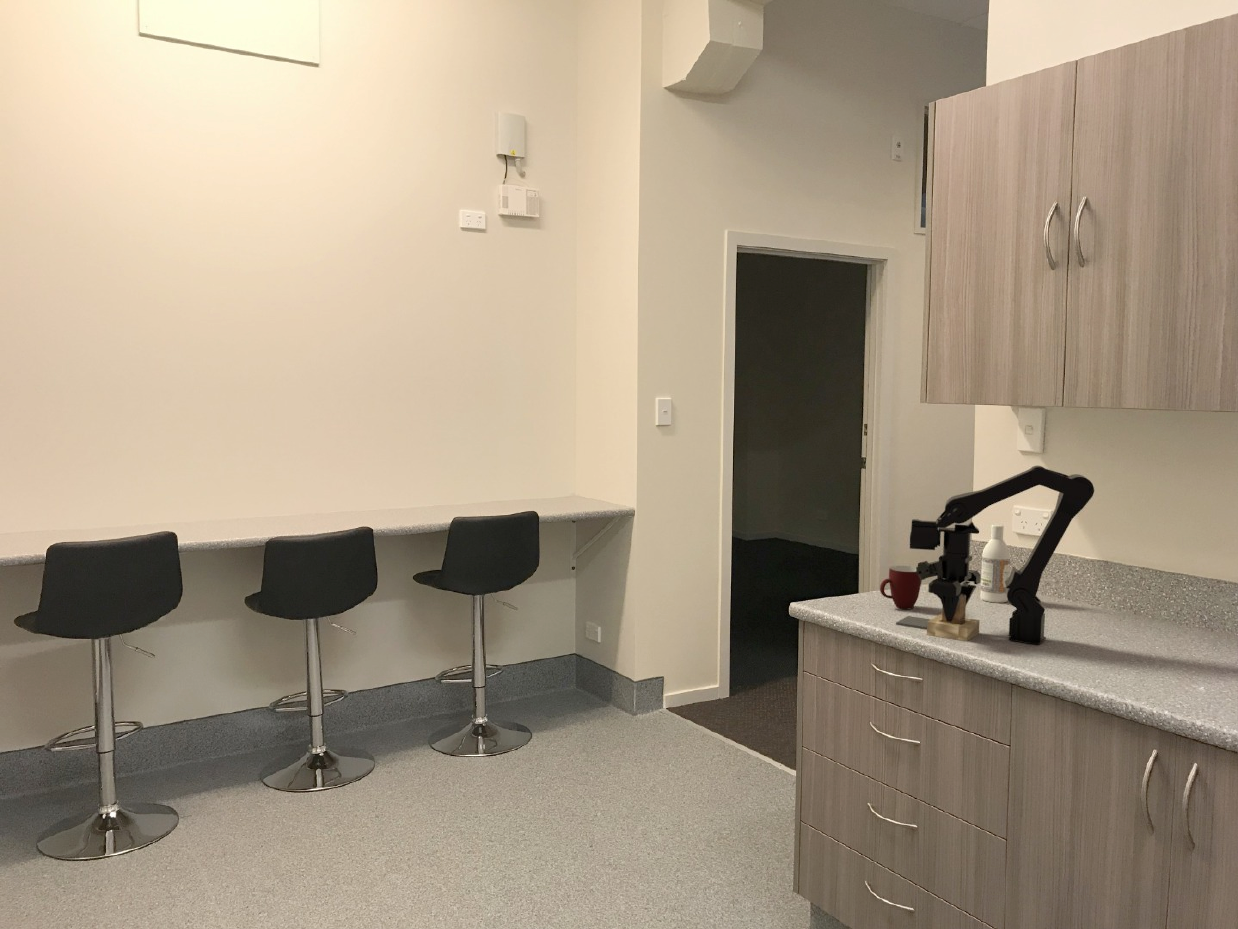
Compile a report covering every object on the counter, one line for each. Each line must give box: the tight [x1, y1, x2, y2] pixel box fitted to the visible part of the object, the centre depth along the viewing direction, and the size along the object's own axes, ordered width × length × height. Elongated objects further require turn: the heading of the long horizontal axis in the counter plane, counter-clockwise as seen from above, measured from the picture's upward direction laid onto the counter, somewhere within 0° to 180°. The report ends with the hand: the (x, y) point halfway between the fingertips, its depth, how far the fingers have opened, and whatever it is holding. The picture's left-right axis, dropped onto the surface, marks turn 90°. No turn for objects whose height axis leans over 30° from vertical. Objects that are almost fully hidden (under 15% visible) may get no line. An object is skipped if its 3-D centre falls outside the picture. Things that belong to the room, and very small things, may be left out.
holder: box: [926, 613, 980, 642], centre depth 225 cm, size 9×9×3 cm
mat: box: [895, 615, 931, 630], centre depth 234 cm, size 8×8×1 cm
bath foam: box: [979, 524, 1011, 604], centre depth 258 cm, size 7×7×20 cm
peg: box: [941, 595, 967, 625], centre depth 225 cm, size 4×4×9 cm
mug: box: [879, 565, 923, 610], centre depth 250 cm, size 11×8×10 cm
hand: (953, 618), depth 225 cm, fingers open, 6 cm apart
